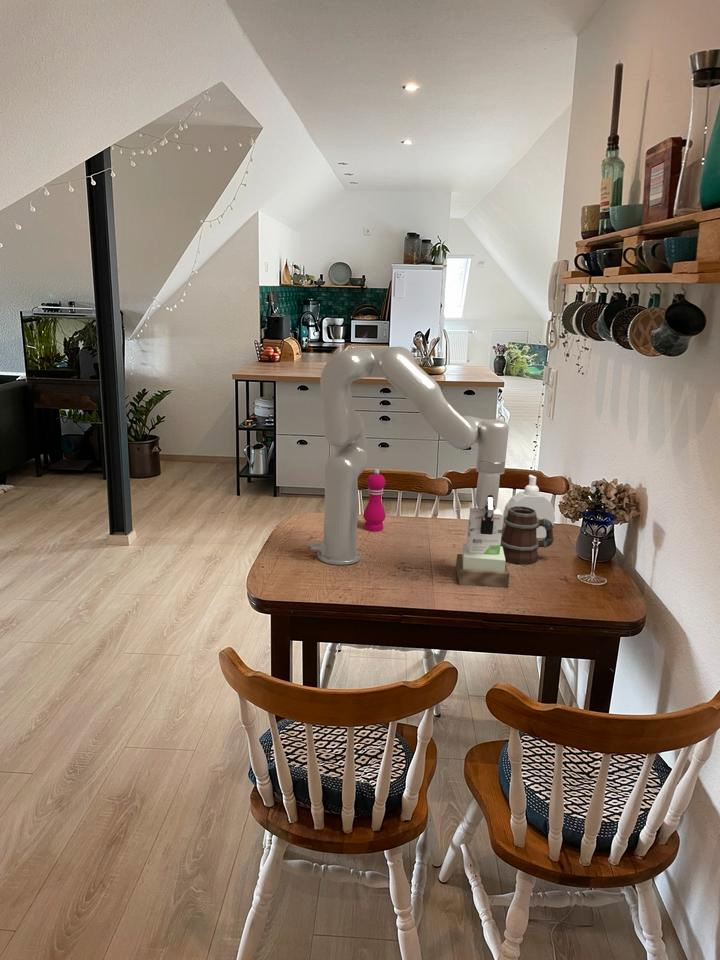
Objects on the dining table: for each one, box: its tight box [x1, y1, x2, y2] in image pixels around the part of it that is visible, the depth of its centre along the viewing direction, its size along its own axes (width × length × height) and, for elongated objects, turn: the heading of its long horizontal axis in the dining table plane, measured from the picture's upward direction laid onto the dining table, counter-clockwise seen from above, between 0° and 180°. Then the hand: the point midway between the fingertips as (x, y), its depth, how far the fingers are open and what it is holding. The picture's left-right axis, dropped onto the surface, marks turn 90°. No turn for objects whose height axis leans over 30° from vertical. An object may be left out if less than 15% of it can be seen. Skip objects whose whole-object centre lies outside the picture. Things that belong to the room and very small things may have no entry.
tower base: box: [455, 553, 510, 589], centre depth 204 cm, size 13×13×4 cm
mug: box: [500, 506, 555, 565], centre depth 218 cm, size 16×12×15 cm
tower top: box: [461, 542, 506, 573], centre depth 203 cm, size 11×11×4 cm
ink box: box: [466, 507, 504, 554], centre depth 201 cm, size 9×5×12 cm, turn 91°
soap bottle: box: [502, 474, 556, 539], centre depth 238 cm, size 16×5×20 cm, turn 97°
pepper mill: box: [362, 468, 386, 532], centre depth 238 cm, size 7×7×20 cm
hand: (484, 528), depth 201 cm, fingers open, 7 cm apart
